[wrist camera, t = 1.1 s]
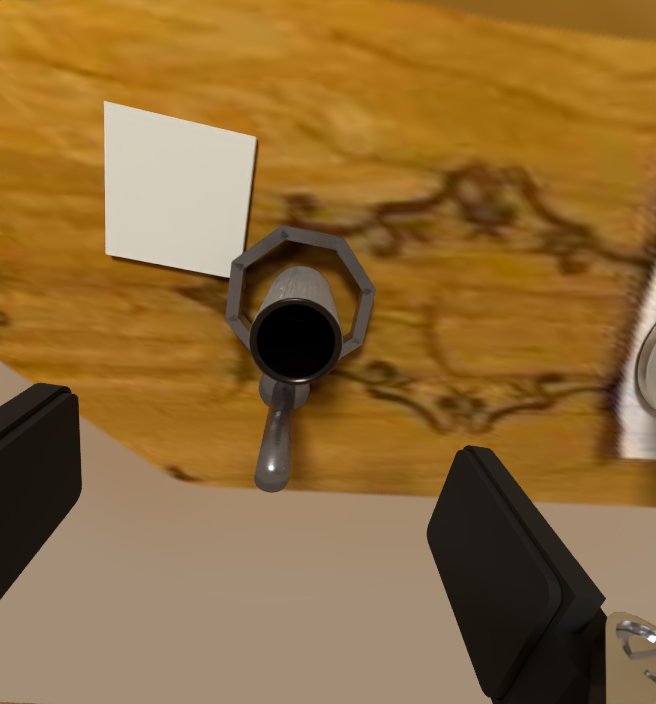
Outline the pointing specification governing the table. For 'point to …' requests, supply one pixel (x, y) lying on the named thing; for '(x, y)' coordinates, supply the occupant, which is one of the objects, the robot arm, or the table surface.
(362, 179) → the table surface
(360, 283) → the ring stand
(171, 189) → the coaster
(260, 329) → the gray hollow cylinder
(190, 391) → the table surface
